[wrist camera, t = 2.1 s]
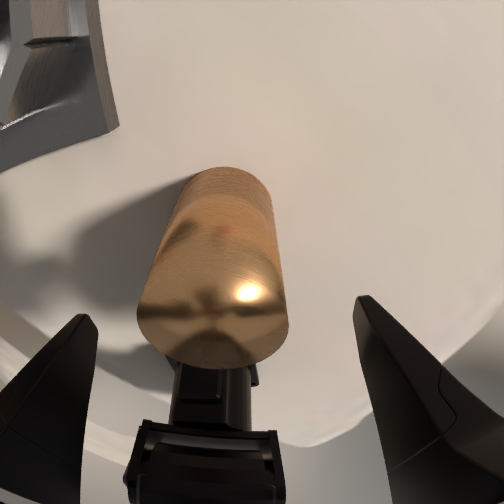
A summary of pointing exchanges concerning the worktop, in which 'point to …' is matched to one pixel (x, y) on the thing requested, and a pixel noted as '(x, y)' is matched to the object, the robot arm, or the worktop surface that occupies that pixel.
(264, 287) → the brass peg
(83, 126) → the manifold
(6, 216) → the worktop surface
